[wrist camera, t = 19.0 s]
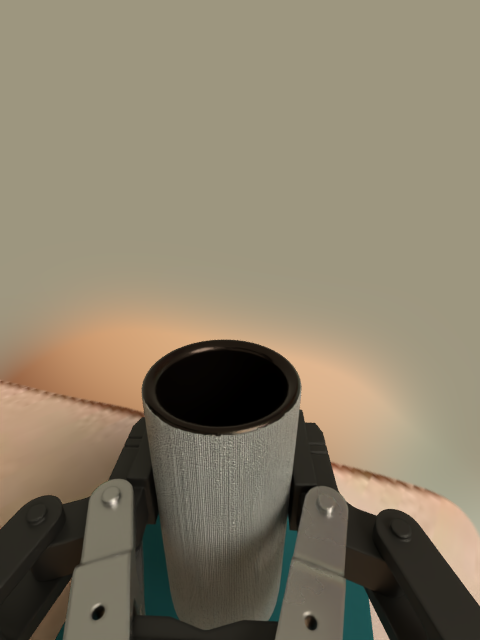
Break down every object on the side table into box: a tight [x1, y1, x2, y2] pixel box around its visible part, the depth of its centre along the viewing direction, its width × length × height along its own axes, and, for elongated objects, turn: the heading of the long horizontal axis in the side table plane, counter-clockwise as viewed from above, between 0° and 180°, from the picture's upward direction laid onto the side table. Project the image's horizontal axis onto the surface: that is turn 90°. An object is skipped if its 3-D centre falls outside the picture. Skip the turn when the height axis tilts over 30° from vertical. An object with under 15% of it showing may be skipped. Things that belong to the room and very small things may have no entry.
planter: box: [142, 340, 301, 630], centre depth 12 cm, size 4×4×10 cm
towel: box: [55, 513, 374, 640], centre depth 15 cm, size 13×10×1 cm
